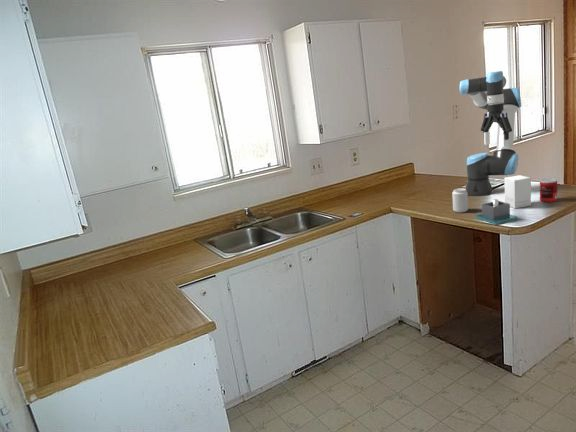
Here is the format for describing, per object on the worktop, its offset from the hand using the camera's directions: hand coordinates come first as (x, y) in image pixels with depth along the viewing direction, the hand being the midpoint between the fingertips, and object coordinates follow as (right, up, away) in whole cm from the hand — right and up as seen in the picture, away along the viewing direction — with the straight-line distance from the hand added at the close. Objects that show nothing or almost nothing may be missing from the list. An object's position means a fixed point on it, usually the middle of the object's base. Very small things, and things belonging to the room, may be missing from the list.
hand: (496, 145), depth 221 cm
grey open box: (-7, -37, -14) cm, 40 cm away
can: (-16, -34, +6) cm, 38 cm away
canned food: (+28, -29, +1) cm, 40 cm away
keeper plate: (-7, -38, -14) cm, 41 cm away
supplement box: (+12, -31, +1) cm, 34 cm away
